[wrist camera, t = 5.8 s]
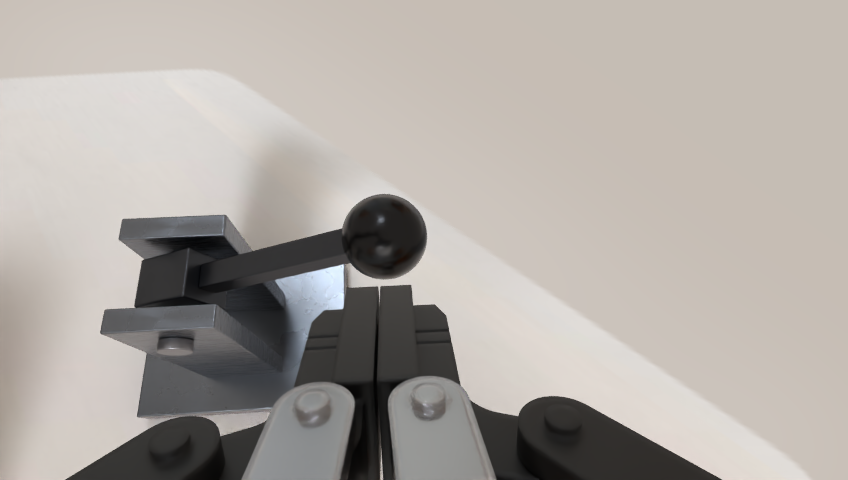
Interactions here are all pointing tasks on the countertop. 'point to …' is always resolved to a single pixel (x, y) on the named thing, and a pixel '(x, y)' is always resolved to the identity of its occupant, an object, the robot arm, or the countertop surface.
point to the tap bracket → (219, 327)
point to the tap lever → (292, 257)
